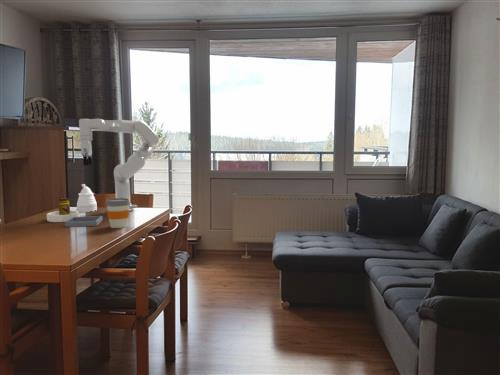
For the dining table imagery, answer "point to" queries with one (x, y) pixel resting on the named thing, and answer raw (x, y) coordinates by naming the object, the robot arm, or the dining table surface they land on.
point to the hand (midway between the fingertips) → (87, 164)
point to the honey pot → (86, 200)
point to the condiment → (64, 206)
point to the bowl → (61, 216)
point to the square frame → (84, 221)
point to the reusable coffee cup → (118, 212)
